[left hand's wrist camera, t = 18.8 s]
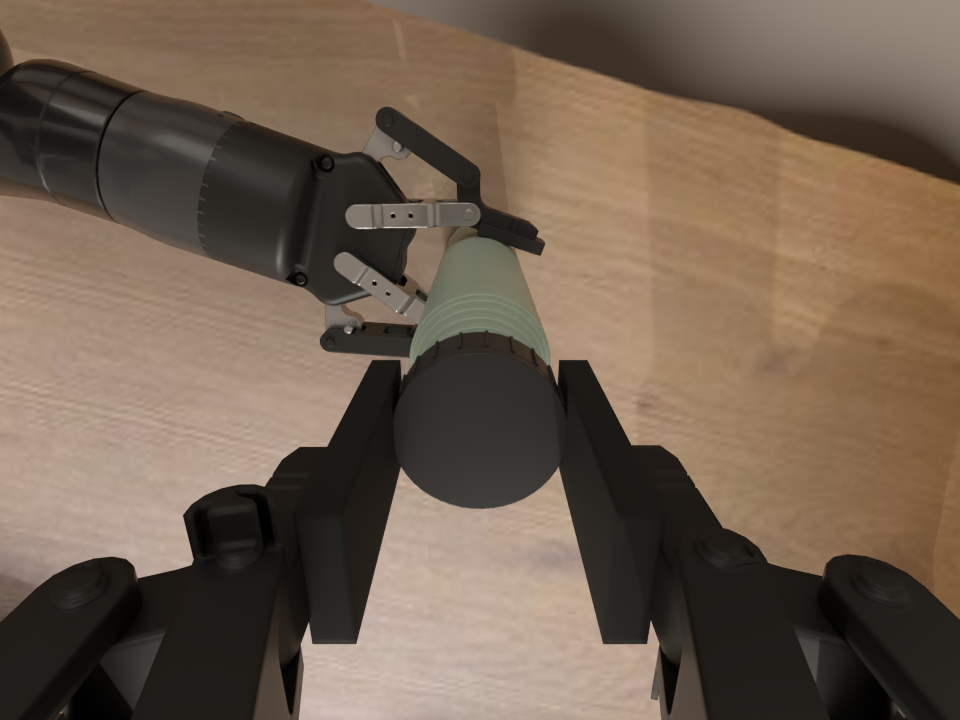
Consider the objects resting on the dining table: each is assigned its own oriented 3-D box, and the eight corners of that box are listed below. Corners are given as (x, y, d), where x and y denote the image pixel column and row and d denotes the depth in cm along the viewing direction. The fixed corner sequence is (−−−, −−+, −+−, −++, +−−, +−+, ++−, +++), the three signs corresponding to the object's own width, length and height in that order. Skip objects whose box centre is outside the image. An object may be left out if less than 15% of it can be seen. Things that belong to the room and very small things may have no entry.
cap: (538, 308, 14) (545, 327, 12) (578, 453, 15) (589, 487, 14) (374, 355, 14) (361, 380, 13) (429, 492, 16) (424, 528, 14)
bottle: (435, 275, 37) (365, 469, 14) (459, 209, 35) (423, 309, 13) (498, 299, 37) (528, 522, 15) (524, 236, 36) (602, 376, 13)
